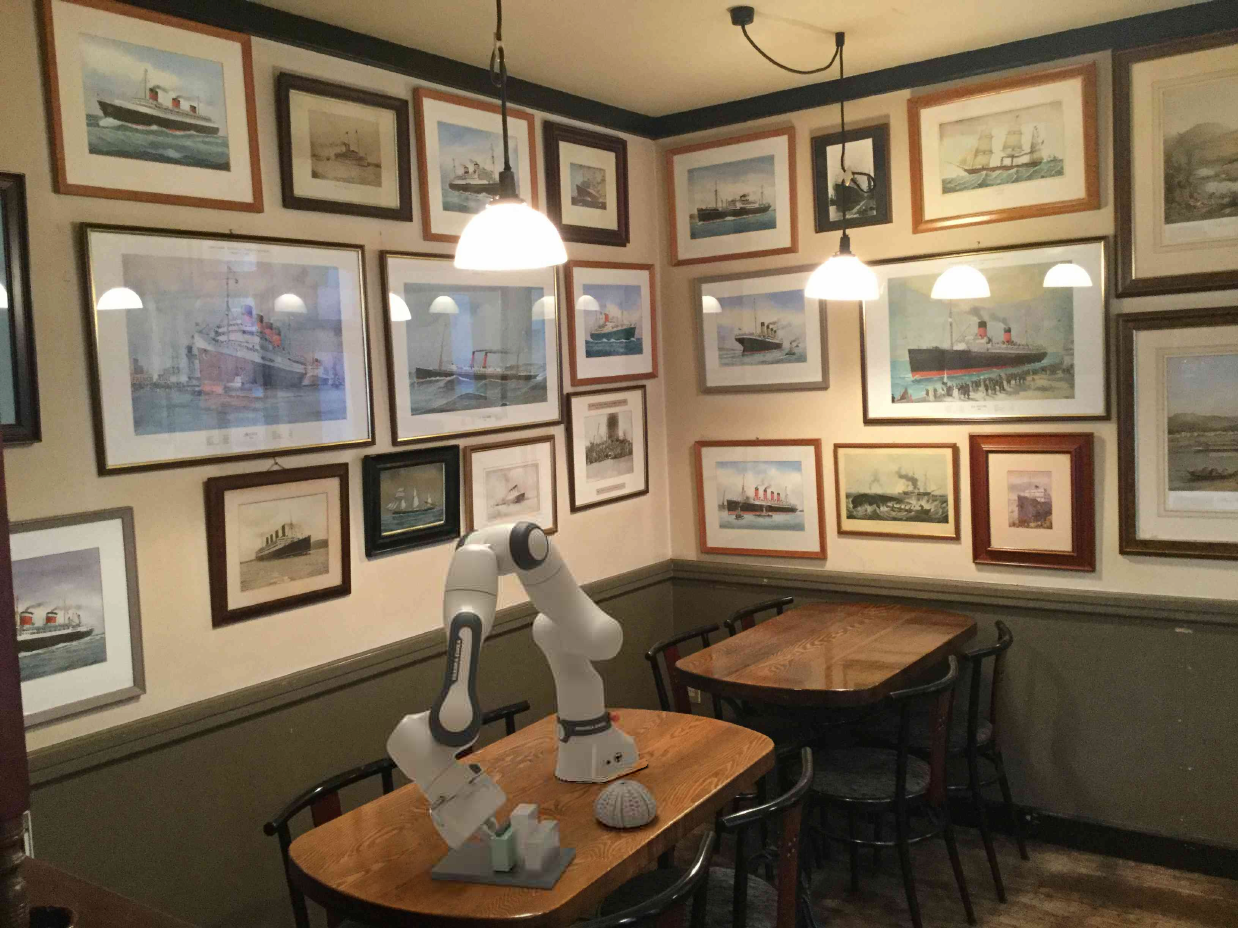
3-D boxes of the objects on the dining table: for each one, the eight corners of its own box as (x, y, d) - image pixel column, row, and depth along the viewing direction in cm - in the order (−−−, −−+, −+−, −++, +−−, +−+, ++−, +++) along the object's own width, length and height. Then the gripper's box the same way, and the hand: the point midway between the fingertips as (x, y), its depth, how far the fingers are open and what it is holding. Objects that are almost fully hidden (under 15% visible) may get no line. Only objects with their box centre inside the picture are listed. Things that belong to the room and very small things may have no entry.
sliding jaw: (493, 869, 186) (490, 832, 186) (513, 846, 196) (511, 810, 196) (508, 871, 186) (505, 833, 185) (527, 847, 195) (525, 811, 195)
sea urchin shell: (617, 803, 220) (615, 767, 219) (670, 813, 212) (668, 776, 212) (581, 825, 209) (579, 787, 208) (636, 838, 201) (633, 798, 201)
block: (513, 865, 188) (510, 813, 188) (523, 854, 193) (520, 803, 192) (530, 867, 187) (527, 814, 187) (540, 855, 192) (537, 804, 191)
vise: (430, 878, 188) (427, 839, 188) (462, 846, 201) (459, 810, 201) (550, 889, 181) (548, 848, 181) (575, 855, 195) (573, 817, 194)
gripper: (435, 798, 183) (487, 855, 181) (482, 759, 202) (529, 810, 200) (414, 820, 184) (465, 877, 182) (463, 779, 204) (509, 830, 202)
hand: (499, 842), depth 191 cm, fingers closed, pressing on sliding jaw
